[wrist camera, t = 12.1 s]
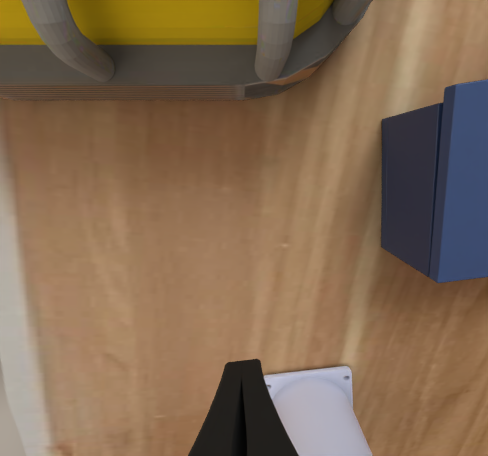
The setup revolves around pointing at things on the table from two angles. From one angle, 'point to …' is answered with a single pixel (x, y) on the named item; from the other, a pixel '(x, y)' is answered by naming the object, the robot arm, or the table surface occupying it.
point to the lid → (462, 186)
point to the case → (410, 184)
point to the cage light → (166, 47)
